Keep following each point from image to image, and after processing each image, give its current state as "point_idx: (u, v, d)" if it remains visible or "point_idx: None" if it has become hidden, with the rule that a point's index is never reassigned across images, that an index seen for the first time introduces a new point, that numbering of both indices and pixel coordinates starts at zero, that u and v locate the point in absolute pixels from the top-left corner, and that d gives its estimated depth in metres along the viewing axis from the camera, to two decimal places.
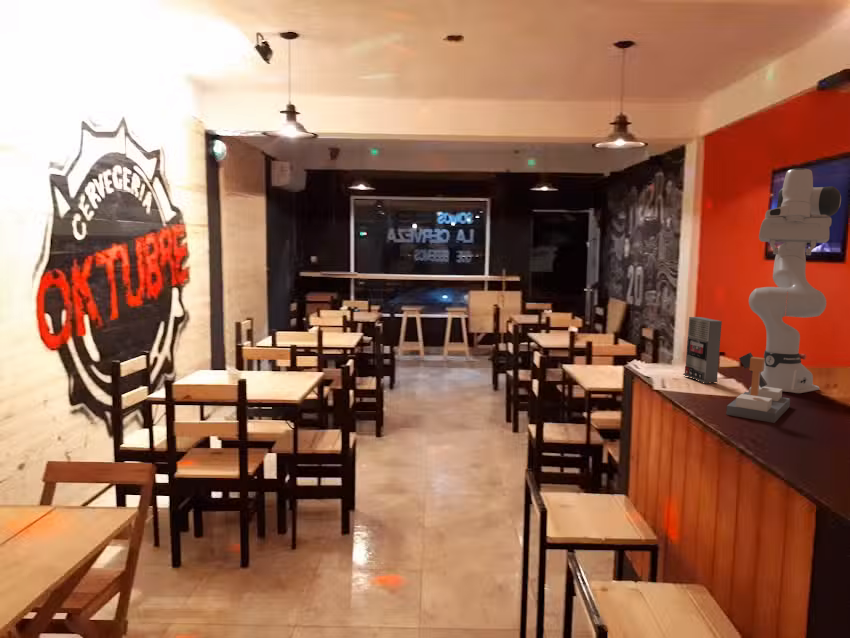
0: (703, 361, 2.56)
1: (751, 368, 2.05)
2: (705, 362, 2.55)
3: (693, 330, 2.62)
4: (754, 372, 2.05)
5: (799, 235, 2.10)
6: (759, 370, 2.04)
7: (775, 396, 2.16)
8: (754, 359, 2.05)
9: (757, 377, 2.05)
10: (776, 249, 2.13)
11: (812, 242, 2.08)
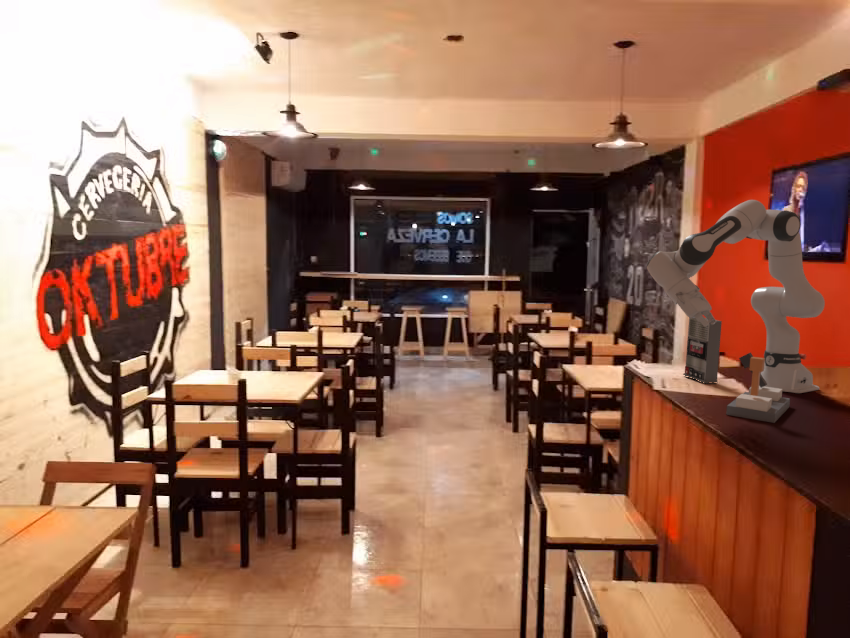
0: (703, 361, 2.56)
1: (751, 368, 2.05)
2: (705, 362, 2.55)
3: (693, 330, 2.62)
4: (754, 372, 2.05)
5: None
6: (759, 370, 2.04)
7: (775, 396, 2.16)
8: (754, 359, 2.05)
9: (757, 377, 2.05)
10: None
11: None
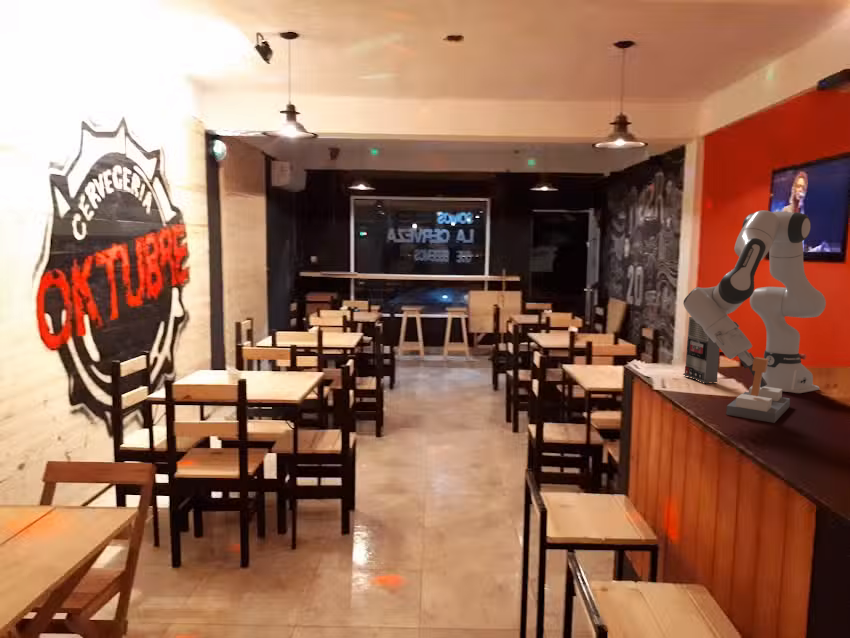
0: (703, 361, 2.56)
1: (754, 368, 2.05)
2: (705, 362, 2.55)
3: (693, 330, 2.62)
4: (756, 372, 2.05)
5: None
6: (762, 371, 2.04)
7: (775, 396, 2.16)
8: (758, 359, 2.04)
9: (759, 378, 2.05)
10: None
11: None
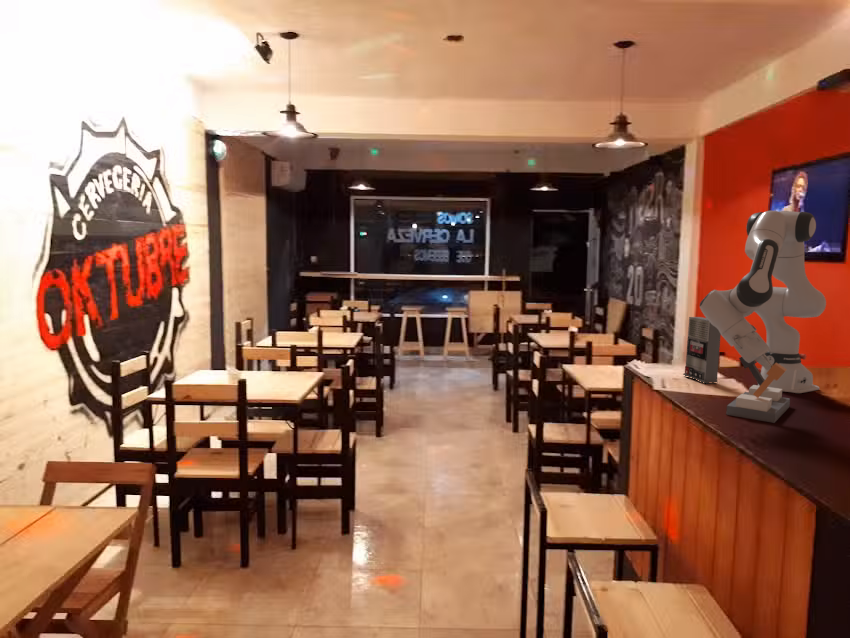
0: (703, 361, 2.56)
1: (769, 373, 2.02)
2: (705, 362, 2.55)
3: (693, 330, 2.62)
4: (769, 377, 2.03)
5: None
6: (775, 378, 2.01)
7: (775, 396, 2.16)
8: (777, 367, 2.01)
9: (769, 383, 2.03)
10: None
11: None
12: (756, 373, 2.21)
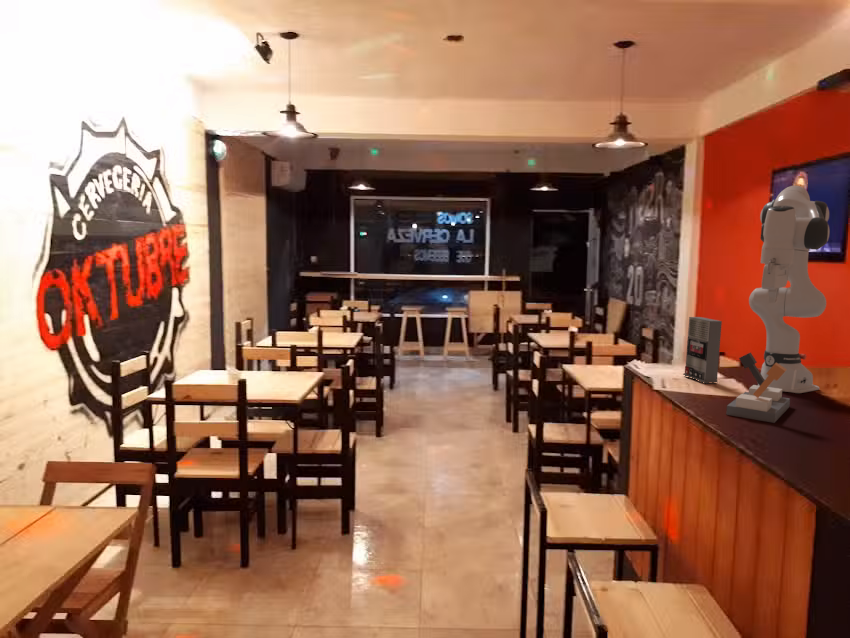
0: (703, 361, 2.56)
1: (769, 373, 2.02)
2: (705, 362, 2.55)
3: (693, 330, 2.62)
4: (769, 377, 2.03)
5: None
6: (775, 378, 2.01)
7: (775, 396, 2.16)
8: (777, 367, 2.01)
9: (769, 383, 2.03)
10: None
11: None
12: (756, 373, 2.21)
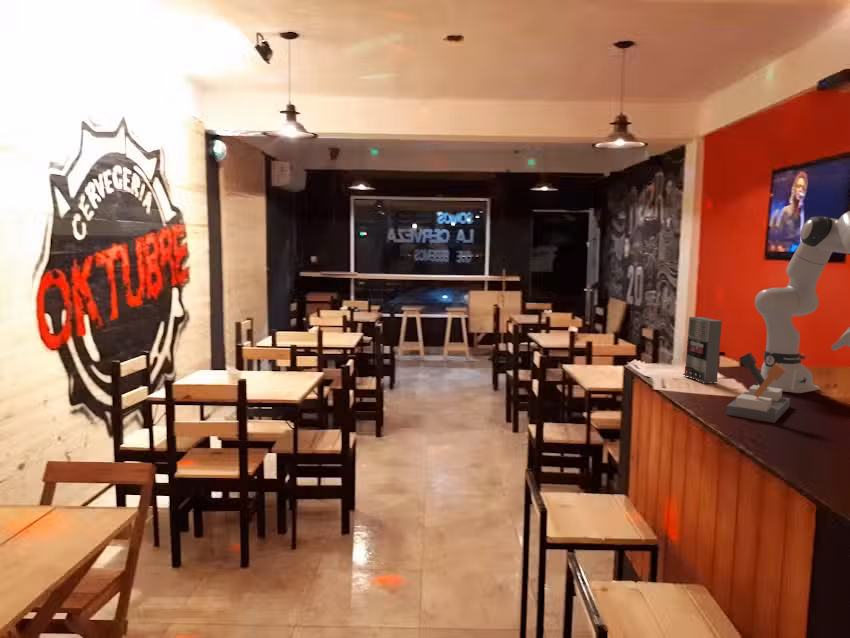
0: (703, 361, 2.56)
1: (769, 373, 2.02)
2: (705, 362, 2.55)
3: (693, 330, 2.62)
4: (769, 377, 2.03)
5: (845, 332, 1.89)
6: (775, 378, 2.01)
7: (775, 396, 2.16)
8: (777, 367, 2.01)
9: (769, 383, 2.03)
10: (834, 343, 1.93)
11: (841, 338, 1.90)
12: (756, 373, 2.21)
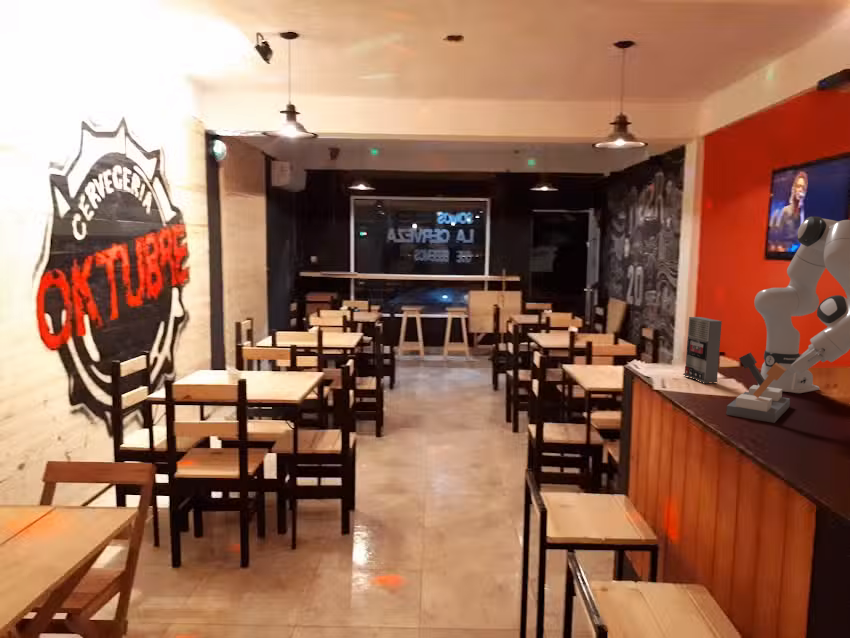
0: (703, 361, 2.56)
1: (769, 373, 2.02)
2: (705, 362, 2.55)
3: (693, 330, 2.62)
4: (769, 377, 2.03)
5: (797, 359, 1.97)
6: (775, 378, 2.01)
7: (775, 396, 2.16)
8: (777, 366, 2.01)
9: (769, 383, 2.03)
10: (787, 369, 2.01)
11: None
12: (756, 373, 2.21)
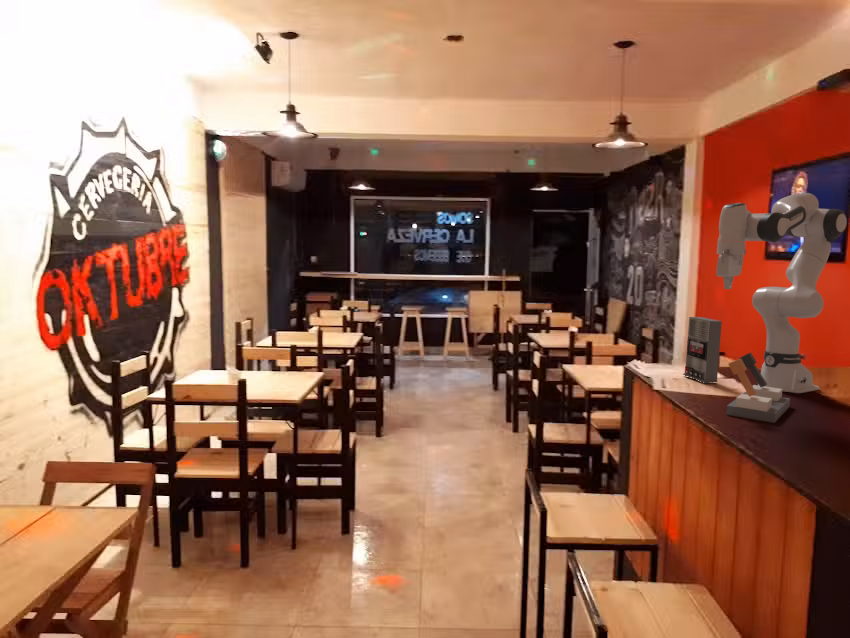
0: (703, 361, 2.56)
1: (734, 372, 2.09)
2: (705, 362, 2.55)
3: (693, 330, 2.62)
4: (739, 374, 2.08)
5: None
6: (742, 370, 2.07)
7: (775, 396, 2.16)
8: (732, 363, 2.09)
9: (744, 377, 2.07)
10: None
11: None
12: (756, 373, 2.21)
